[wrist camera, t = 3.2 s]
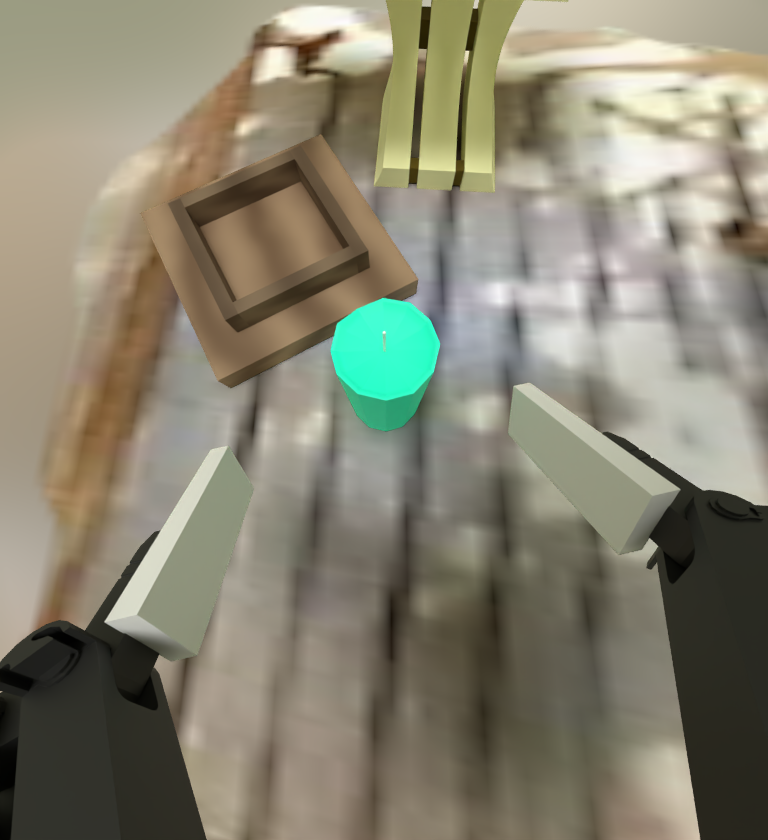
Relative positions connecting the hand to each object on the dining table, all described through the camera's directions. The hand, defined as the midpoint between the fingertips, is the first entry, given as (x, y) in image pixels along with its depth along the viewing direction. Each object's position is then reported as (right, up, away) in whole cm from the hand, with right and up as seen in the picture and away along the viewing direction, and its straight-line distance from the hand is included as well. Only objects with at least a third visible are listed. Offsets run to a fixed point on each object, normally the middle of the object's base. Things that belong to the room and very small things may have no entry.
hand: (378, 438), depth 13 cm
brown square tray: (-10, +17, +15) cm, 25 cm away
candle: (0, +3, +12) cm, 13 cm away
